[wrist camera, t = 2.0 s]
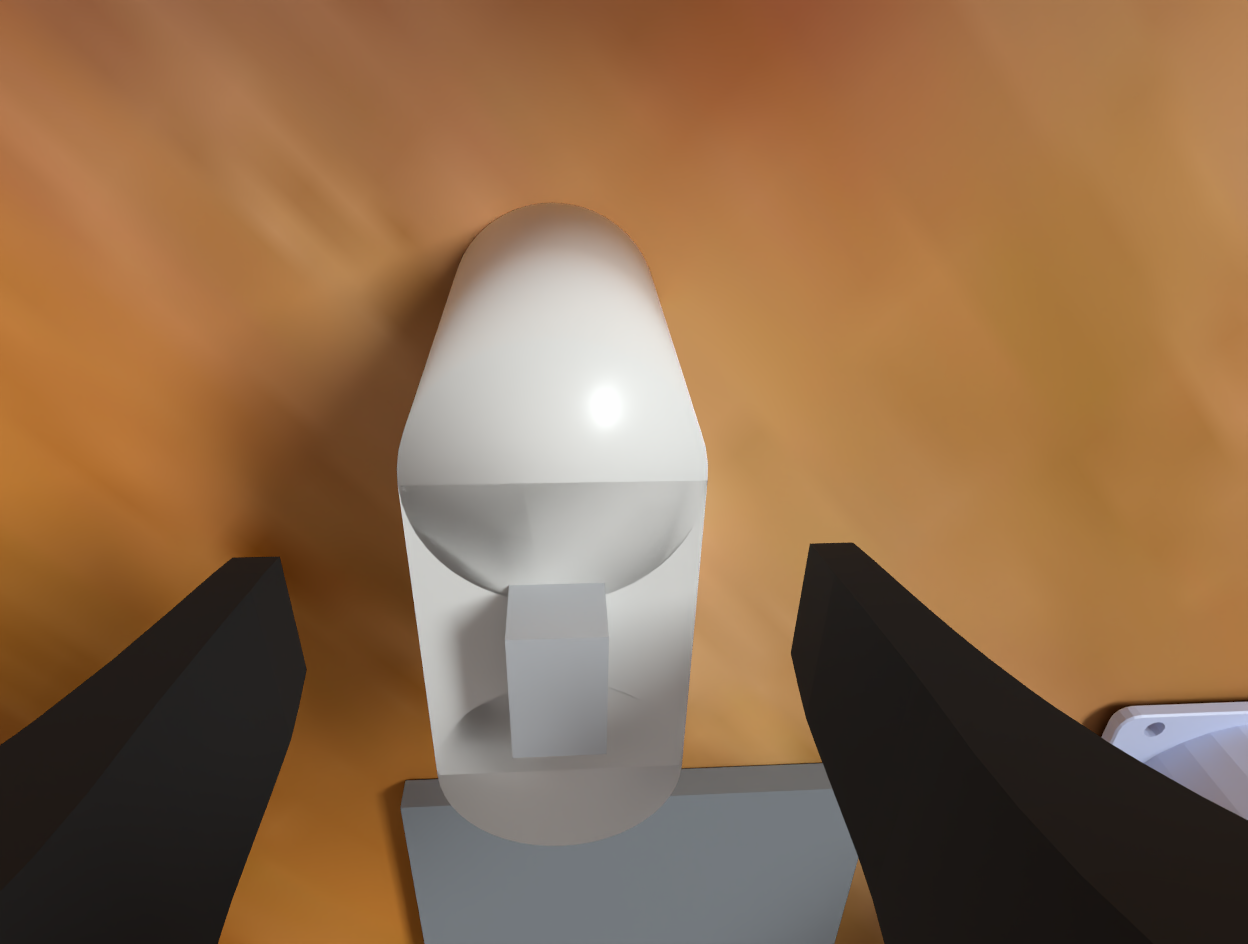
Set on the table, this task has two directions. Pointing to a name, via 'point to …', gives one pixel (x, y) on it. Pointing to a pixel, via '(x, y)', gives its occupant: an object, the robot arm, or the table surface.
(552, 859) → the slate mat
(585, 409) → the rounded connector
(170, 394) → the table surface
